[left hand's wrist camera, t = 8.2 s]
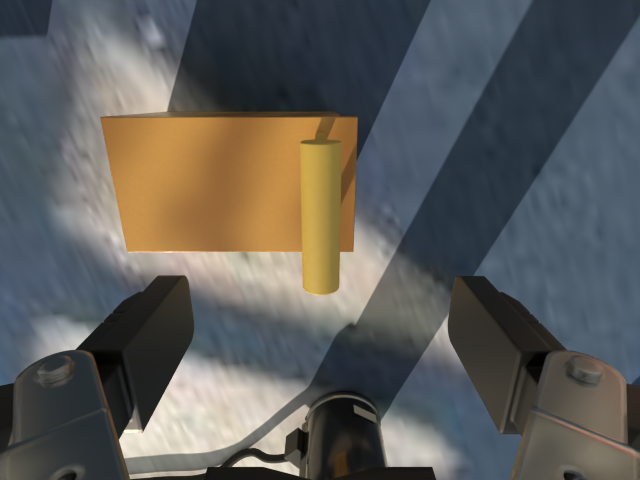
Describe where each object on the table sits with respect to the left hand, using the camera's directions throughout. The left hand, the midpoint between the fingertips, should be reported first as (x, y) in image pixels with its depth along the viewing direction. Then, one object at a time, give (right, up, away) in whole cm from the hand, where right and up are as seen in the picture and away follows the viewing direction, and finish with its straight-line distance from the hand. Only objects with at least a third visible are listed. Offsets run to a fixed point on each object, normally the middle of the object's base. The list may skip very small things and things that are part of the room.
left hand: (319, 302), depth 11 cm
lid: (-6, +6, +16) cm, 18 cm away
